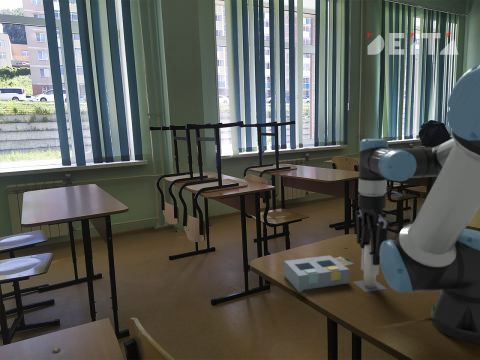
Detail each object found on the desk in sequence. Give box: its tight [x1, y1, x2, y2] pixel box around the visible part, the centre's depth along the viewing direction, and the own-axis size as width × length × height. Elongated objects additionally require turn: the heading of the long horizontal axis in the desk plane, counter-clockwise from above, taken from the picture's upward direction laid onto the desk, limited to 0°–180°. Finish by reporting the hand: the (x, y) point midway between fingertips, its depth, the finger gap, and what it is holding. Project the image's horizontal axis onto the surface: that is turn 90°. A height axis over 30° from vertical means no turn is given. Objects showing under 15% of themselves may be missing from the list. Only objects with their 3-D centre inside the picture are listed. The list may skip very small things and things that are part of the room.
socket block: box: [283, 255, 350, 293], centre depth 117 cm, size 12×16×5 cm
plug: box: [362, 243, 377, 288], centre depth 111 cm, size 3×3×12 cm
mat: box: [352, 279, 388, 293], centre depth 112 cm, size 7×7×1 cm
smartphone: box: [333, 255, 356, 267], centre depth 129 cm, size 8×15×1 cm, turn 109°
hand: (369, 271), depth 111 cm, fingers closed on plug, 3 cm apart
